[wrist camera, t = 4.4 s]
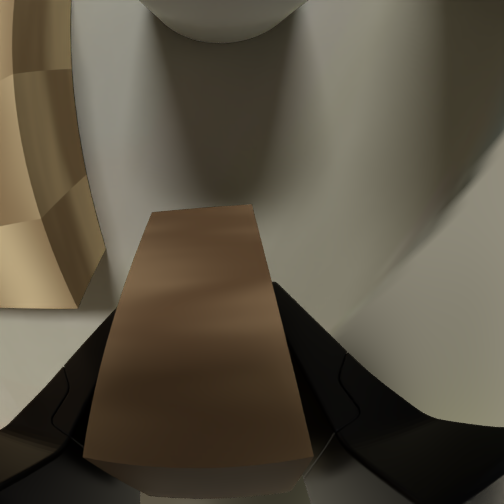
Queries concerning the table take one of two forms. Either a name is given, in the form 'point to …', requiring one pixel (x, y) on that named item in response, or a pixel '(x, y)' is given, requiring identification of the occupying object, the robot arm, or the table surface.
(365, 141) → the table surface
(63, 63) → the socket block
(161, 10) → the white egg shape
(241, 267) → the square peg
